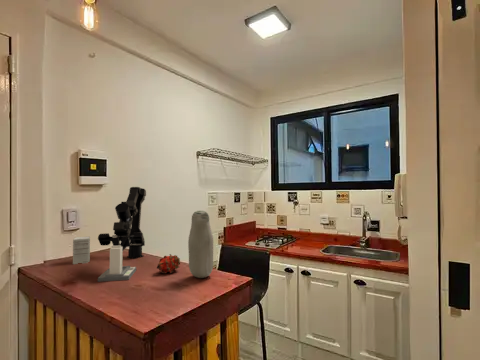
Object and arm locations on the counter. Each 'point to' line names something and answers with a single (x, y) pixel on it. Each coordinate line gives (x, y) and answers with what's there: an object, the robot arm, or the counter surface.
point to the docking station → (125, 274)
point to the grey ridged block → (81, 250)
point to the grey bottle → (200, 245)
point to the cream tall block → (116, 259)
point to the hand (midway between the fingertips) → (117, 255)
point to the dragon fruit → (168, 264)
